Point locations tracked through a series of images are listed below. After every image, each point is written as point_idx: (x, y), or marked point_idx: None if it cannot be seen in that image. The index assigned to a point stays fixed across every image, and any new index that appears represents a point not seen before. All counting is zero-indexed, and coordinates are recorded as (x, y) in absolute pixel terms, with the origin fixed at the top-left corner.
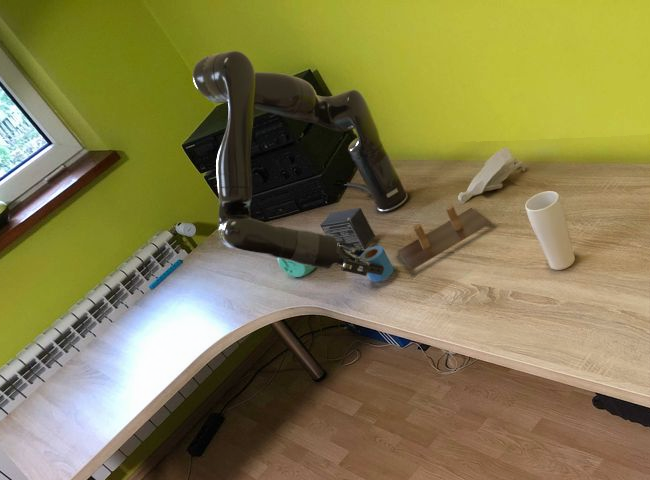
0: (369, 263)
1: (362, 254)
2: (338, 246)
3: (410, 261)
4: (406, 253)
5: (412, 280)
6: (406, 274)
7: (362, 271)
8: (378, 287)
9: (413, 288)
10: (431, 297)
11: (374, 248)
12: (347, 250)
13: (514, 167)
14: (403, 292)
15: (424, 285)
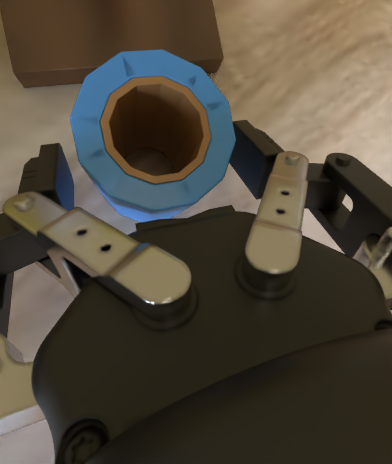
0: (295, 152)
1: (115, 184)
2: (84, 341)
3: (159, 44)
4: (77, 38)
5: (243, 87)
6: None
7: (339, 203)
8: (189, 207)
9: (289, 97)
10: (368, 65)
11: (111, 96)
12: (268, 239)
13: None
14: (286, 131)
15: (299, 63)
